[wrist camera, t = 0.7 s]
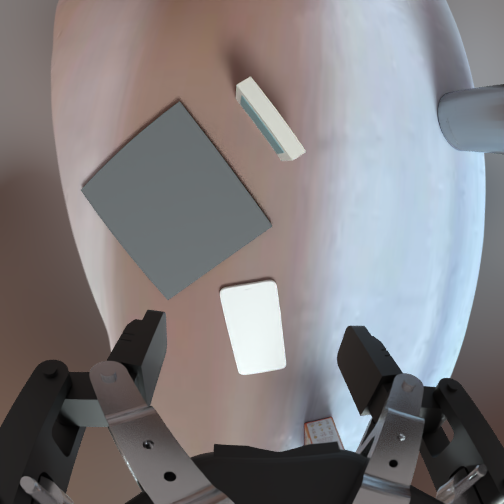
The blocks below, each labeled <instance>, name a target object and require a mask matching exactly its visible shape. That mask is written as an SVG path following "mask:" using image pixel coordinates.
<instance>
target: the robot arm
mask: <svg viewBox="0 0 504 504" xmlns="http://www.w3.org/2000/svg"><path fill="white" fill-rule="evenodd" d="M438 118H439V123H440V127H441V130H442V132H443V134H444V136H445V138H446V140H447V141H448V142H449V144H450V145H451V146H452V147H454V148H455V149H457V150H460V151H473V152H484V153H496V154H504V84H501V85H493V86H486V87H479V88H473V89H467V90H461V91H456V92H451V93H447V94H445V95H444V96H443V97H442V98H441V100H440V102H439V107H438ZM166 348H167V334H166V314H165V312H161V311H154V310H147V312H146V314H145V316H144V318H143V320H137V319H135V320H133V321H132V322H131V323H129V324H128V325H127V326H126V328H125V329H124V331H123V334H121V336H120V338H119V340H118V341H117V343H116V345H115V347H114V348H113V350H112V352H111V354H110V356H109V357H108V359H107V361H103V362H100V363H98V364H96V365H94V366H93V367H92V368H91V370H90V372H69V371H68V368H67V366H66V365H65V364H64V363H63V362H61V361H58V360H47V361H44V362H42V363H40V364H39V365H38V366H37V367H36V368H35V370H34V372H33V373H32V375H31V377H30V378H29V379H28V381H27V382H26V384H25V386H24V387H23V389H22V391H21V392H20V394H19V395H18V397H17V399H16V400H15V402H14V404H13V406H12V407H11V409H10V411H9V413H8V414H7V416H6V418H5V420H4V422H3V424H2V425H1V427H0V504H74V503H73V501H72V500H71V498H70V497H68V496H67V495H66V491H67V487H68V484H69V480H70V476H71V473H72V469H73V466H74V463H75V459H76V456H77V453H78V450H79V447H80V444H81V441H82V438H83V435H84V432H85V429H86V427H108V429H109V431H110V433H111V435H112V437H113V440H114V442H115V444H116V446H117V448H118V449H119V452H120V453H121V455H122V457H123V459H124V461H125V463H126V465H127V467H128V468H129V470H130V472H131V474H132V475H133V477H134V479H135V481H136V482H137V484H138V486H139V487H140V489H141V491H142V492H141V493H140V494H138V495H137V496H135V497H134V498H132V499H131V500H129V501H128V502H126V503H125V504H503V503H504V448H503V446H502V445H501V443H500V441H499V440H498V438H497V437H496V435H495V433H494V432H493V430H492V429H491V427H490V426H489V424H488V423H487V421H486V420H485V418H484V417H483V415H482V414H481V412H480V411H479V409H478V408H477V406H476V405H475V403H474V402H473V401H472V400H471V398H470V396H469V395H468V394H467V393H466V391H465V390H464V388H463V387H462V385H461V384H460V383H459V382H457V381H455V380H453V379H451V378H443V379H441V380H440V381H439V383H438V385H437V386H436V387H427V386H423V384H422V382H421V381H420V380H419V379H418V378H417V377H415V376H413V375H411V374H406V373H402V371H401V370H400V368H399V367H398V365H397V364H396V362H395V361H394V360H393V358H392V357H391V356H390V354H389V352H388V351H386V348H385V347H384V345H383V344H382V343H381V342H380V341H379V340H378V339H376V338H375V337H374V336H371V334H370V333H369V332H368V330H367V329H366V327H365V326H348V327H347V328H346V331H345V334H344V337H343V340H342V343H341V345H340V348H339V351H338V355H337V363H338V366H339V369H340V371H341V373H342V375H343V377H344V380H345V382H346V384H347V386H348V389H349V391H350V393H351V395H352V398H353V400H354V402H355V404H356V407H357V409H358V411H359V414H360V416H364V415H371V416H372V418H371V420H370V421H369V423H368V426H367V428H366V431H365V433H364V435H363V438H362V440H361V442H360V444H359V447H358V449H357V451H356V453H355V452H352V451H348V450H343V449H340V448H339V445H338V442H337V441H336V442H327V443H318V444H308V445H305V446H302V447H298V448H295V449H291V450H287V451H283V452H274V451H269V450H264V449H259V448H254V447H249V446H238V445H220V444H214V452H210V453H204V454H200V455H197V456H194V457H191V458H190V457H189V456H188V455H187V454H186V452H185V451H184V450H183V448H182V447H181V446H180V444H179V443H178V442H177V440H176V439H175V438H174V436H173V435H172V433H171V432H170V431H169V429H168V428H167V426H166V425H165V423H164V422H163V420H162V419H161V417H160V416H159V414H158V413H157V411H156V410H155V409H154V408H153V407H152V406H150V404H151V400H152V397H153V393H154V390H155V387H156V383H157V380H158V377H159V374H160V370H161V367H162V364H163V361H164V358H165V354H166ZM446 419H447V420H448V422H449V424H450V425H451V427H452V429H453V431H454V438H453V440H452V441H451V443H450V442H449V440H448V438H447V436H446V434H445V432H444V431H443V429H442V427H441V425H442V424H443V423H444V421H445V420H446ZM419 451H420V453H421V455H422V458H423V460H424V462H425V464H426V467H427V469H428V471H429V474H430V476H431V479H432V481H433V483H434V486H435V488H436V490H437V494H436V498H434V497H432V496H430V495H428V494H426V493H424V492H423V491H421V490H419V489H417V488H415V487H413V486H412V485H410V484H411V481H412V477H413V474H414V470H415V466H416V462H417V458H418V453H419Z"/></svg>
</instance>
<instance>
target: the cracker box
mask: <svg viewBox="0 0 504 504" xmlns="http://www.w3.org/2000/svg"><path fill="white" fill-rule="evenodd" d="M304 427H305V445H308V444H318V443H327V442H336V441H337V442H338V445H339V448H340V449H343V450H345V449H344V446H343V444H342V441H341V439H340V436H339V433H338V431H337V429H336V426H335V423H334V420H333V418H332V417H329V418H325V419H321V420H317V421H312V422H308V423H305V424H304Z"/></svg>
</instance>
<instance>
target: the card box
mask: <svg viewBox="0 0 504 504" xmlns="http://www.w3.org/2000/svg"><path fill="white" fill-rule="evenodd" d="M236 100H237V101H238V102H239V104H240V105H241V106H242V108H243V109H244V110H245V112H246V113H247V114H248V115H249V117H250V118H251V119H252V121H253V122H254V123H255V125H256V126H257V127H258V129H259V130H260V132H261V133H262V134H263V136H264V137H265V138H266V140H267V141H268V143H269V144H270V145H271V147H272V148H273V149H274V151H275V152H276V154H277V155H278V157H279V158H280V159H281V161H293V160H294V159H296V158H297V157H299V156H300V155H302V154H303V153H305V152H306V151H305V149H304V148H303V146H302V145H301V143H300V142H299V140H298V139H297V138H296V136H295V135H294V133H293V132H292V130H291V129H290V128H289V126H288V125H287V123H286V122H285V121H284V119H283V118H282V116H281V115H280V114H279V112H278V111H277V110H276V108H275V107H274V106H273V104H272V103H271V102H270V100H269V99H268V98H267V96H266V95H265V94H264V93H263V91H262V90H261V89H260V88H259V86H258V85H257V84H256V82H255V81H254V80H253V79H252V78H251V76H250V77H249V78H247V79H245V80H244V81H242V82H241V83H239V84H237V85H236Z"/></svg>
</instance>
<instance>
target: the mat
mask: <svg viewBox="0 0 504 504" xmlns="http://www.w3.org/2000/svg"><path fill="white" fill-rule="evenodd" d="M81 191H82V193H83V194H84V195H85V197H86V198H87V200H88V201H89V203H90V204H91V205H92V207H93V208H94V210H95V211H96V212H97V214H98V215H99V216H100V218H101V219H102V220H103V222H104V223H105V224H106V226H107V227H108V228H109V230H110V231H111V232H112V234H113V235H114V236H115V237H116V239H117V240H118V241H119V243H120V244H121V245H122V246H123V248H124V249H125V250H126V251H127V253H128V254H129V255H130V256H131V258H132V259H133V260H134V261H135V262H136V264H137V265H138V266H139V267H140V268H141V270H142V271H143V272H144V273H145V274H146V276H147V277H148V278H149V279H150V280H151V281H152V283H153V284H154V285H155V286H156V287H157V288H158V289H159V291H160V292H161V293H162V294H163V295H164V296H165V297H166V298H167V300H169V299H170V298H172V297H173V296H175V295H176V294H177V293H179V292H180V291H182V290H183V289H184V288H186V287H187V286H189V285H190V284H191V283H193V282H194V281H196V280H197V279H198V278H200V277H201V276H203V275H204V274H205V273H207V272H208V271H210V270H211V269H212V268H214V267H215V266H217V265H218V264H220V263H221V262H222V261H224V260H225V259H227V258H228V257H229V256H231V255H232V254H234V253H235V252H236V251H238V250H239V249H241V248H242V247H244V246H245V245H246V244H248V243H249V242H251V241H252V240H254V239H255V238H256V237H258V236H259V235H261V234H262V233H263V232H265V231H266V230H268V229H269V228H271V227H272V225H271V223H270V222H269V220H268V219H267V218H266V216H265V215H264V213H263V212H262V211H261V209H260V208H259V206H258V205H257V204H256V202H255V201H254V200H253V198H252V197H251V195H250V194H249V193H248V191H247V190H246V188H245V187H244V186H243V184H242V183H241V182H240V180H239V179H238V178H237V176H236V175H235V174H234V172H233V171H232V169H231V168H230V167H229V165H228V164H227V163H226V161H225V160H224V159H223V157H222V156H221V155H220V153H219V152H218V151H217V149H216V148H215V147H214V145H213V144H212V143H211V141H210V140H209V139H208V137H207V136H206V135H205V134H204V132H203V131H202V130H201V128H200V127H199V126H198V124H197V123H196V122H195V121H194V119H193V118H192V117H191V115H190V114H189V113H188V112H187V110H186V109H185V108H184V106H183V105H182V104H181V103H180V101H179V102H178V103H177V104H175V105H174V106H173V107H171V108H170V109H169V110H168V111H166V112H165V113H164V114H162V115H161V116H160V117H159V118H157V119H156V120H155V121H154V122H152V123H151V124H150V125H149V126H148V127H146V128H145V129H144V130H143V131H142V132H140V133H139V134H138V135H137V136H136V137H135V138H133V139H132V140H131V141H130V142H129V143H128V144H127V145H126V146H125V147H123V148H122V149H121V150H120V151H119V152H118V153H117V154H116V155H115V156H114V157H113V158H112V159H111V160H110V161H109V162H108V163H107V164H105V165H104V166H103V167H102V168H101V169H100V170H99V171H98V172H97V173H96V175H95V176H94V177H93V178H92V179H91V180H90V181H89V182H88V183H87V184H86V185H85V186H84V187H83V188H82V189H81Z"/></svg>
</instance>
